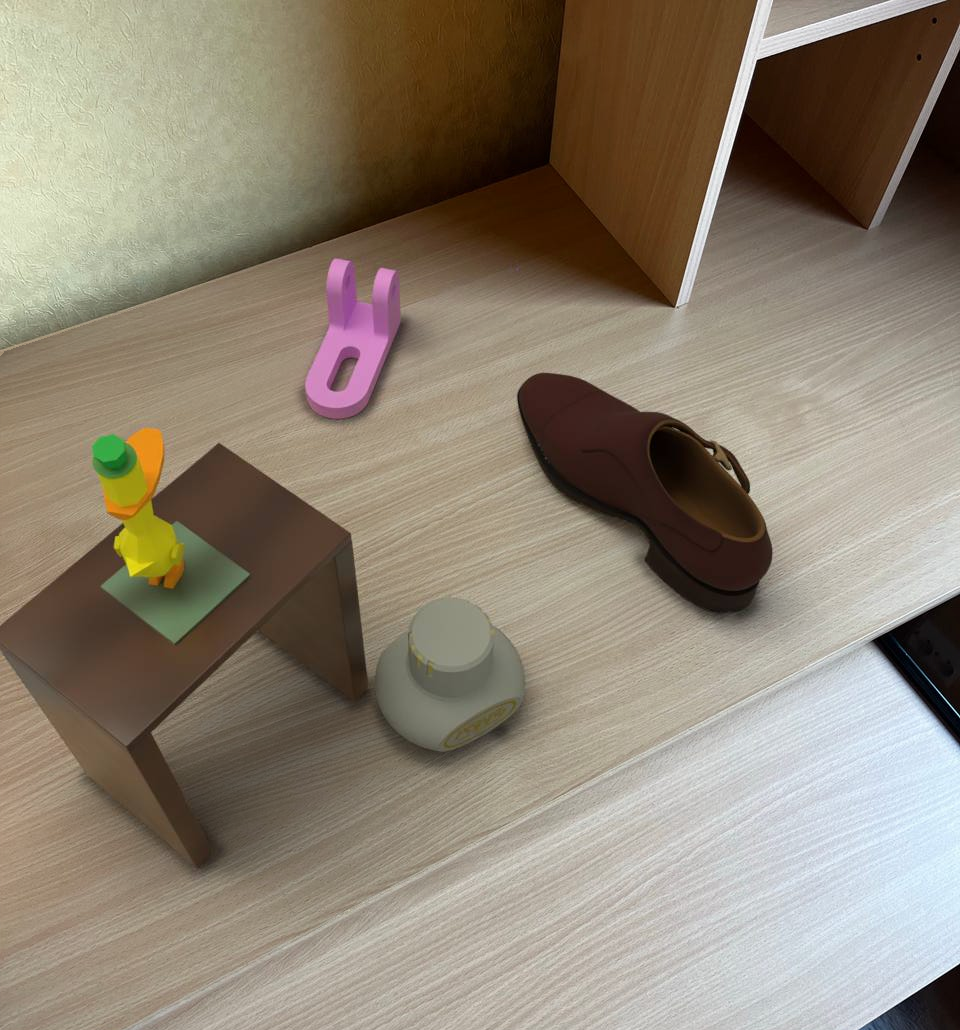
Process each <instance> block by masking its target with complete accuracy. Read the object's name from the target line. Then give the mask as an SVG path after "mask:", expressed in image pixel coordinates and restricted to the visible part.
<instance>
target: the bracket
mask: <svg viewBox="0 0 960 1030" xmlns="http://www.w3.org/2000/svg"><path fill="white" fill-rule="evenodd" d="M400 287H401V286H400V272H399V271H398V270H394V269H389V268H385V267H380V268H379V269H378V271H377V272H376V275H375V277H374V281H373V288H372V296H371V303H367V302H364V301H363V302H362V301H358V297H357V296H358V295H357V283H356V270H355V264H354V262H353V261H351V260H346V259H343V258H342V259H341V258H334V259H333V260H332V261H331V263H330V266H329V269H328V272H327V276H326V286H325V295H326V301H327V312H328V321H329V323H328V324H329V325H328V326H329V327H328V329H327V331H326V334H325V336H324V337H323V340H322V343H321V345H320V347H319V349H318V352H317V354H316V355H315V358H314V360H313V363H312V365H311V367H310V369H309V372H308V374H307V376H306V378H305V382H304V389H305V394H306V395H305V396H306V401H307V404H308V405H309V407H310V409H312V410H313V411H314V412H315V413H316V414H317V415H320V416H322V417H325V418H328V419H333V420H341V419H347V418H351V417H354V416H356V415H357V414H359V413H360V412H362V411H363V410H365V408H366V407H367V406H368V403H369V402H370V399H371V396H372V394H373V392H374V389H375V386H376V384H377V382H378V379H379V376H380V374H381V373H382V369H383V367H384V364H385V362H386V360H387V357H388V355H389V352H390V350H391V348H392V345H393V342H394V339H395V337H396V336H397V332H398V330H399V328H400V325H401V323H402V312H401V288H400ZM351 358H353V359H356V360H357V362H356V365H355V367H354V370H353V371H352V374H351V376H350V378H349V381H348V383H347V385H346V387H345V388H344V389H343V390H341V391H333V390H332V389H331V388H332V386H333V384H334V381H335V378H336V376H337V374H338V372H339V369H340V367H341V365H342V362H343V361H344V360H346V359H351Z"/></svg>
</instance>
